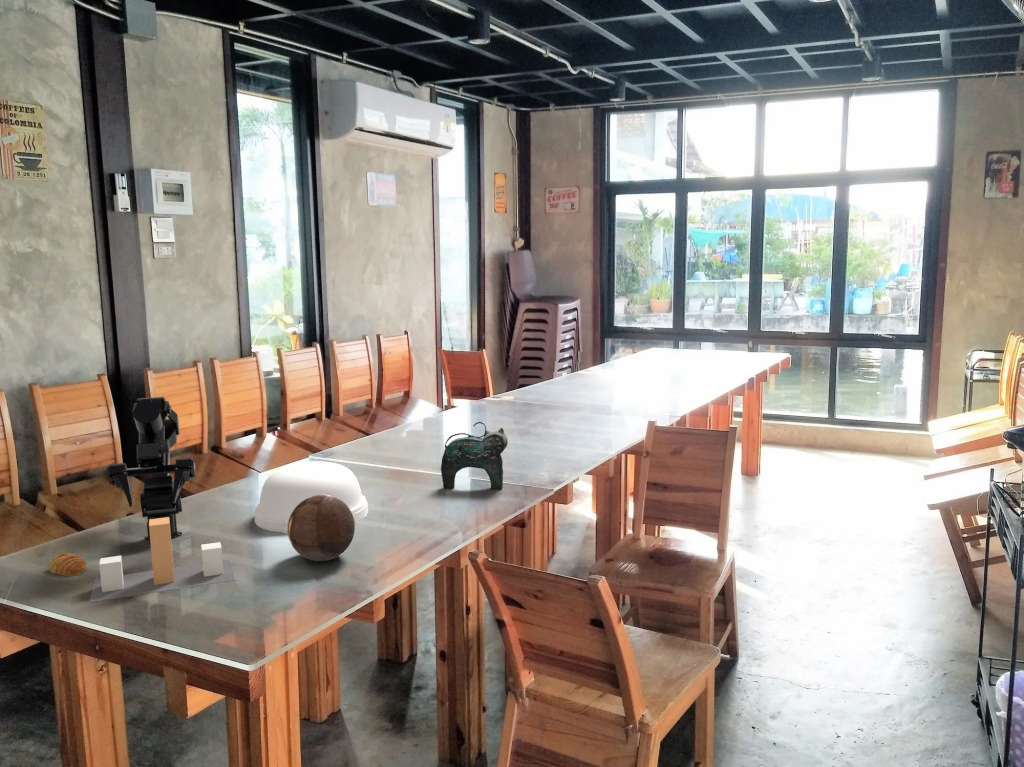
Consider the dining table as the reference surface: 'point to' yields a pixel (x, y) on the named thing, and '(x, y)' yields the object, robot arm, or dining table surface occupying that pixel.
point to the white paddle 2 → (212, 559)
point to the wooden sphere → (321, 527)
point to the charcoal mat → (145, 584)
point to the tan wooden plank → (161, 550)
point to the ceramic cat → (475, 456)
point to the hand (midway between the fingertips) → (152, 504)
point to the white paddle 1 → (111, 573)
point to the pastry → (67, 565)
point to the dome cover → (306, 492)
